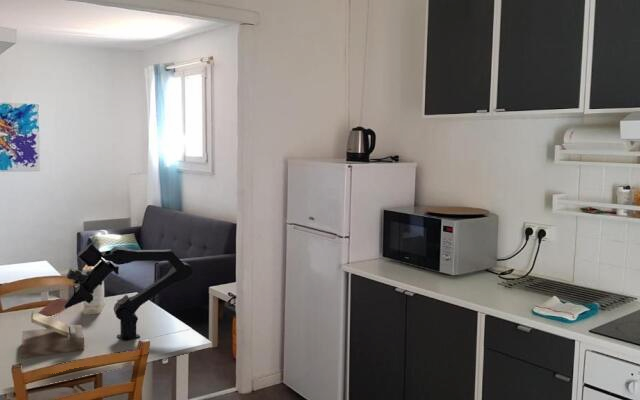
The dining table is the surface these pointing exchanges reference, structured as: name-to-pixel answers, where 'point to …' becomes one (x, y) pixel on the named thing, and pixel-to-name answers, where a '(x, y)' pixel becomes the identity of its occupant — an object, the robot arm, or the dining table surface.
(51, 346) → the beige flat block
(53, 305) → the wooden tablet
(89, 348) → the dining table surface
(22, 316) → the dining table surface
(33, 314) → the oak plank
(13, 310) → the dining table surface
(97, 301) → the coffeecake box
